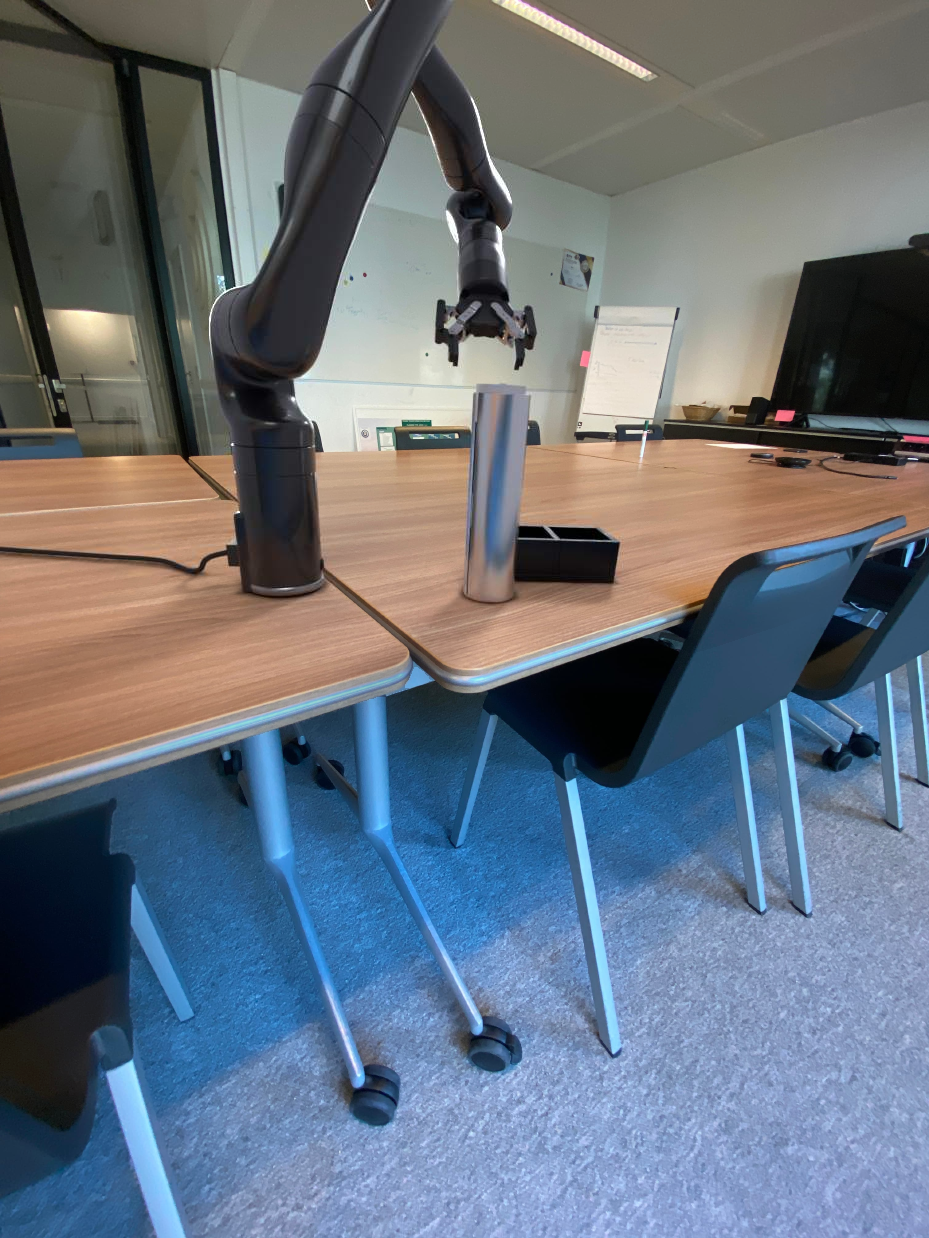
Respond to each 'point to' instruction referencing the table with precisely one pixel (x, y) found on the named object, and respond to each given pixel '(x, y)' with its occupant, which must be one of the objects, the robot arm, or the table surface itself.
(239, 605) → the table surface
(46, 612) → the table surface
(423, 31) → the robot arm
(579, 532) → the open box with compartments
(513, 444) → the metallic silver cylinder
